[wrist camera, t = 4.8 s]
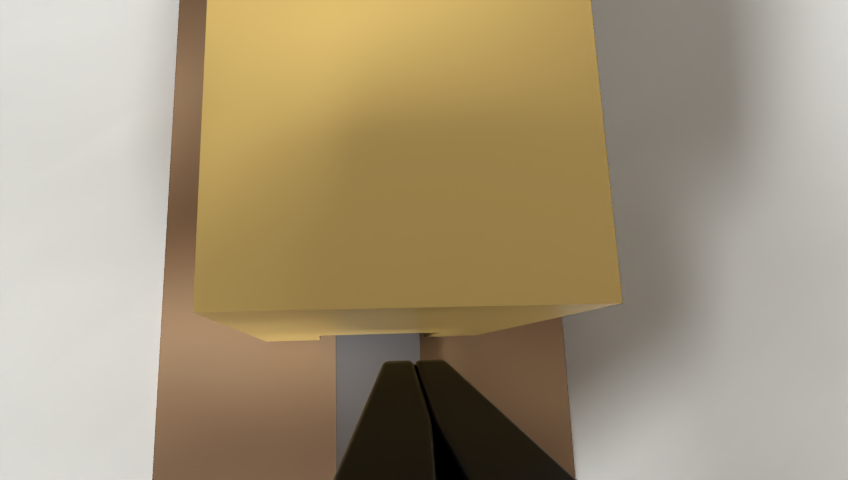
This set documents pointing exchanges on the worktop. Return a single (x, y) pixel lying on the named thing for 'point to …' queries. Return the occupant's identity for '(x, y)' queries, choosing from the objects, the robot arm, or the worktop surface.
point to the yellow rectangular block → (401, 167)
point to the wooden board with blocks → (304, 353)
